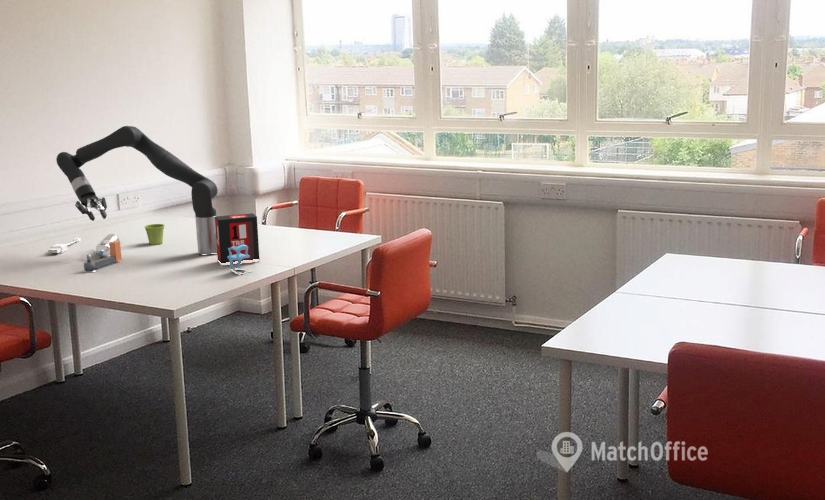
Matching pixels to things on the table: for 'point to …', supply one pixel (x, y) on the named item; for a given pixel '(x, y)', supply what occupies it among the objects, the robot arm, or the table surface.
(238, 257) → the chair
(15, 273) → the table surface
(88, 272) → the pivot base
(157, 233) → the plant pot
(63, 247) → the charging cable
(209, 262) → the table surface
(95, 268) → the grey rectangular frame
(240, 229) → the black and red box
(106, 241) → the water bottle
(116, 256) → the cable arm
